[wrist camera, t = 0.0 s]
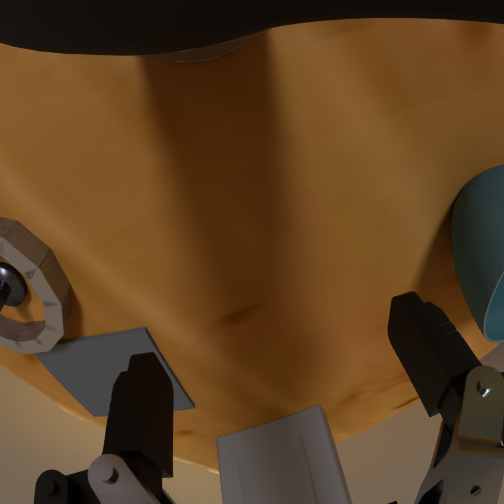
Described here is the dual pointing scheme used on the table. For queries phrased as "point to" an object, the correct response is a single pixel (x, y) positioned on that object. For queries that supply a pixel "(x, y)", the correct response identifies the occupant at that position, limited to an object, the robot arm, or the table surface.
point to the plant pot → (481, 249)
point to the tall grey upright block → (283, 463)
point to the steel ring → (45, 285)
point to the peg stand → (11, 286)
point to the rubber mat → (103, 367)
